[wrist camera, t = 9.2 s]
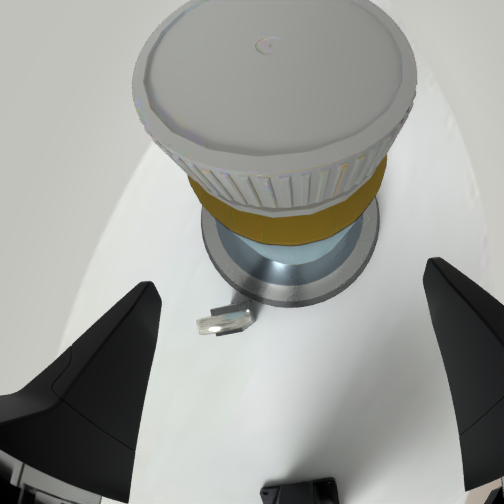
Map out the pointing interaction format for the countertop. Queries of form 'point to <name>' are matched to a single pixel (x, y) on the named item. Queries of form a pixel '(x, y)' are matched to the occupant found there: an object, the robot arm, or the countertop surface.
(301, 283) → the platter
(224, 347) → the countertop surface
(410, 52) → the bottle
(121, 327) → the robot arm
